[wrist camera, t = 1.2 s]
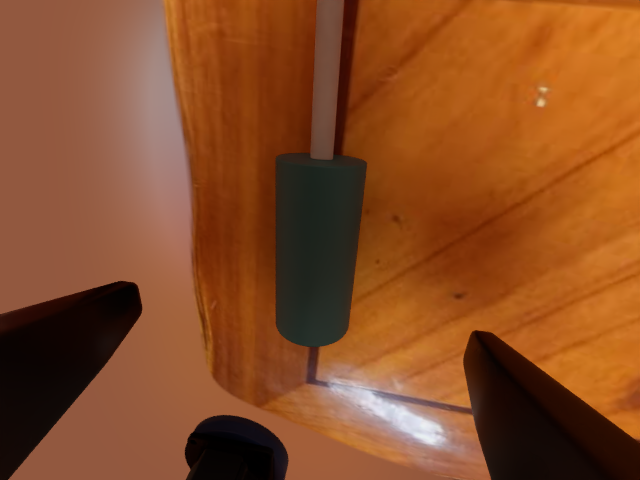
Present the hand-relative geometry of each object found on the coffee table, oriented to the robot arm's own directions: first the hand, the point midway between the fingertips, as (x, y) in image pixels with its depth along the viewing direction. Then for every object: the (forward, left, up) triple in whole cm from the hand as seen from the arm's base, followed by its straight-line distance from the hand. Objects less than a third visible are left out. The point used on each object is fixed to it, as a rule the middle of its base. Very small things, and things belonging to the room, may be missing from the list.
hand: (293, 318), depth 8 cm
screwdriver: (+4, 0, -6) cm, 7 cm away
